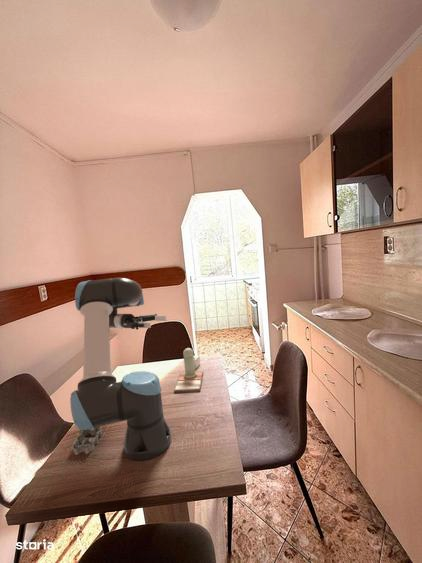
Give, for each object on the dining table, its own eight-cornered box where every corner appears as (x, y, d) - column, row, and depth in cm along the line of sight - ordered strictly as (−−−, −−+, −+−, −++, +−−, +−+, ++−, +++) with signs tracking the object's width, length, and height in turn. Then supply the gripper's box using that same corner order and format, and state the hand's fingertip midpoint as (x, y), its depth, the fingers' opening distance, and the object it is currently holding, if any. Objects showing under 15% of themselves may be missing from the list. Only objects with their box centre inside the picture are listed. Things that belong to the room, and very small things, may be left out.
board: (200, 391, 118) (200, 388, 117) (174, 392, 118) (173, 390, 118) (203, 373, 135) (203, 371, 135) (180, 375, 136) (180, 372, 136)
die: (196, 368, 143) (195, 359, 142) (188, 367, 145) (187, 358, 144) (200, 364, 148) (199, 355, 147) (192, 363, 149) (191, 355, 149)
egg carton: (85, 434, 94) (83, 423, 94) (105, 433, 94) (104, 422, 94) (68, 456, 84) (67, 444, 84) (92, 454, 84) (90, 442, 83)
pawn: (189, 379, 127) (186, 351, 126) (181, 376, 131) (178, 348, 130) (199, 375, 131) (196, 347, 130) (191, 372, 136) (188, 345, 135)
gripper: (140, 321, 151) (172, 322, 143) (108, 334, 128) (143, 336, 120) (139, 309, 150) (170, 308, 142) (106, 319, 127) (141, 320, 119)
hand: (158, 321), depth 131 cm, fingers open, 13 cm apart
